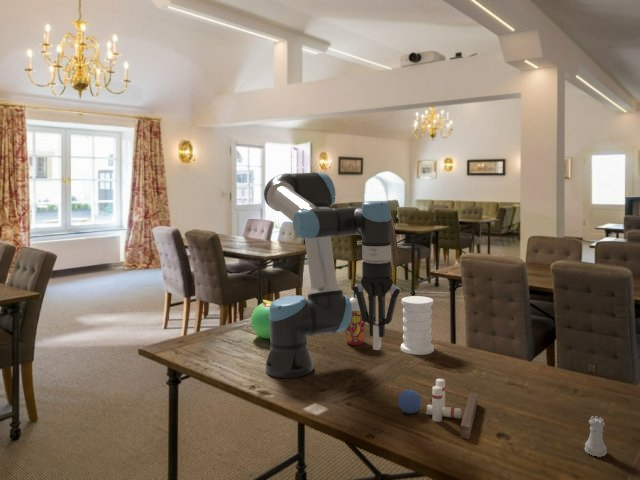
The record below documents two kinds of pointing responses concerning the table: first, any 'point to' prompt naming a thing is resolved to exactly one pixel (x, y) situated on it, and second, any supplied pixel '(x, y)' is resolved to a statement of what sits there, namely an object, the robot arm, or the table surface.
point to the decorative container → (417, 325)
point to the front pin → (447, 411)
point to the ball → (409, 401)
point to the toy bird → (261, 319)
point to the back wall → (468, 416)
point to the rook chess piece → (596, 438)
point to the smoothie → (355, 325)
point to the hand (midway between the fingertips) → (377, 348)
